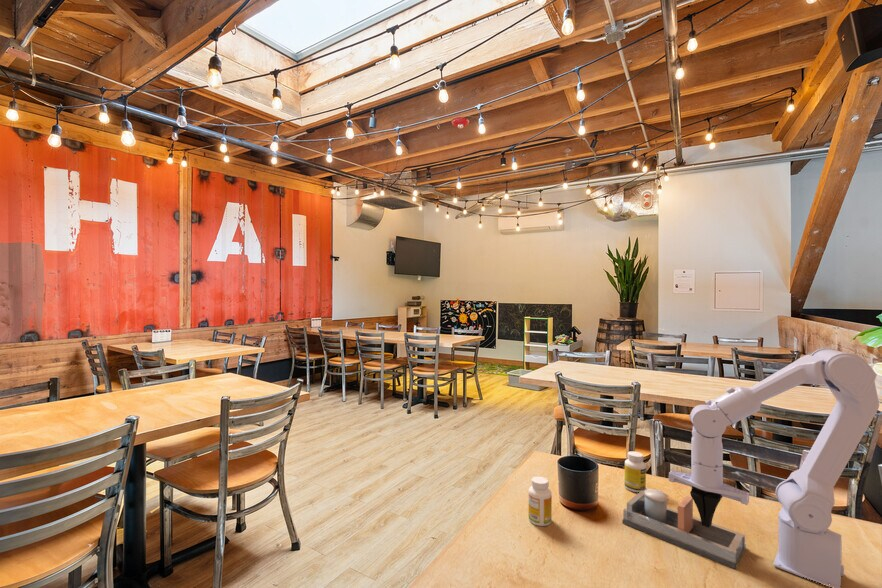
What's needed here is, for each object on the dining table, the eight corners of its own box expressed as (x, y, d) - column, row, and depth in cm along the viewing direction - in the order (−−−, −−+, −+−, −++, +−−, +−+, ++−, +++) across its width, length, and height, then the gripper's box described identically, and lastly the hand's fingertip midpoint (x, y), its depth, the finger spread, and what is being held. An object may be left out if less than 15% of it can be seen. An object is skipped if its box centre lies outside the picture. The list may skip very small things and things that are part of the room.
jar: (669, 521, 95) (670, 494, 95) (663, 529, 91) (664, 501, 91) (647, 513, 98) (648, 486, 98) (640, 520, 95) (641, 493, 95)
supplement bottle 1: (549, 515, 99) (549, 475, 99) (553, 527, 93) (553, 485, 93) (527, 513, 99) (527, 474, 99) (529, 526, 94) (530, 484, 94)
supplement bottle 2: (643, 495, 109) (643, 459, 109) (622, 489, 112) (622, 454, 113) (647, 487, 113) (647, 453, 114) (626, 482, 117) (627, 448, 117)
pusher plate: (692, 527, 92) (692, 497, 92) (683, 538, 87) (683, 507, 87) (686, 525, 93) (686, 495, 93) (677, 536, 88) (677, 505, 88)
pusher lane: (745, 548, 86) (745, 524, 86) (735, 569, 79) (735, 543, 79) (638, 508, 102) (638, 488, 102) (622, 523, 95) (622, 502, 95)
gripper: (752, 467, 85) (752, 531, 84) (675, 448, 95) (675, 505, 95) (745, 477, 80) (745, 545, 80) (665, 455, 90) (665, 516, 90)
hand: (706, 524), depth 87 cm, fingers closed
